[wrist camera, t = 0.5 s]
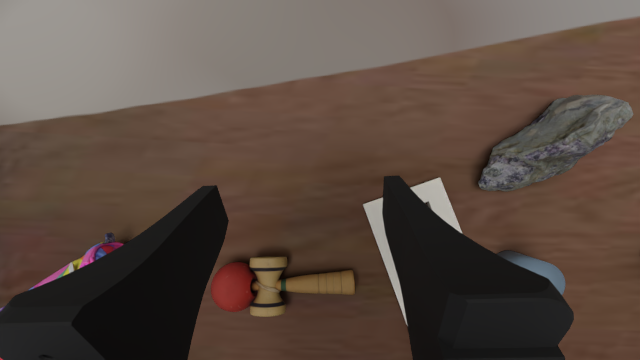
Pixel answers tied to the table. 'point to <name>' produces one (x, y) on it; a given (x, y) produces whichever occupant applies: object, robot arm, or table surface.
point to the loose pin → (537, 267)
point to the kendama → (270, 285)
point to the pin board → (425, 191)
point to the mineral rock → (554, 141)
